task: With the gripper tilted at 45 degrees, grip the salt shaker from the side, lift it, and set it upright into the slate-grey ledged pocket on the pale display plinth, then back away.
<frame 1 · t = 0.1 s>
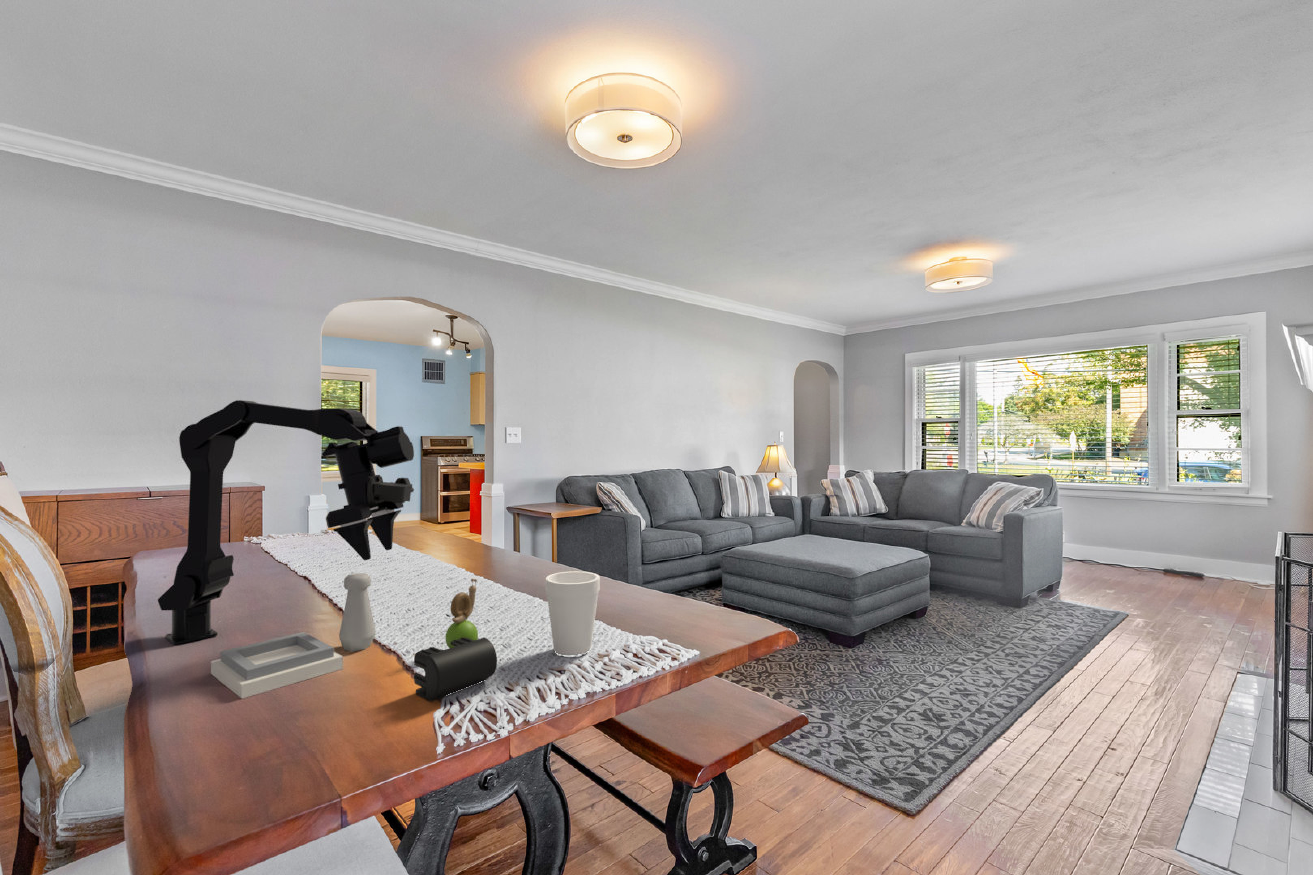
hand: (378, 554, 111), 15 cm above the table, tool pointing down, fingers open, 9 cm apart
foam cup: (572, 652, 104), on the table
salt shaker: (357, 648, 105), on the table
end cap: (455, 691, 88), on the table
snail figurine: (463, 651, 104), on the table
display plinth: (277, 671, 95), on the table
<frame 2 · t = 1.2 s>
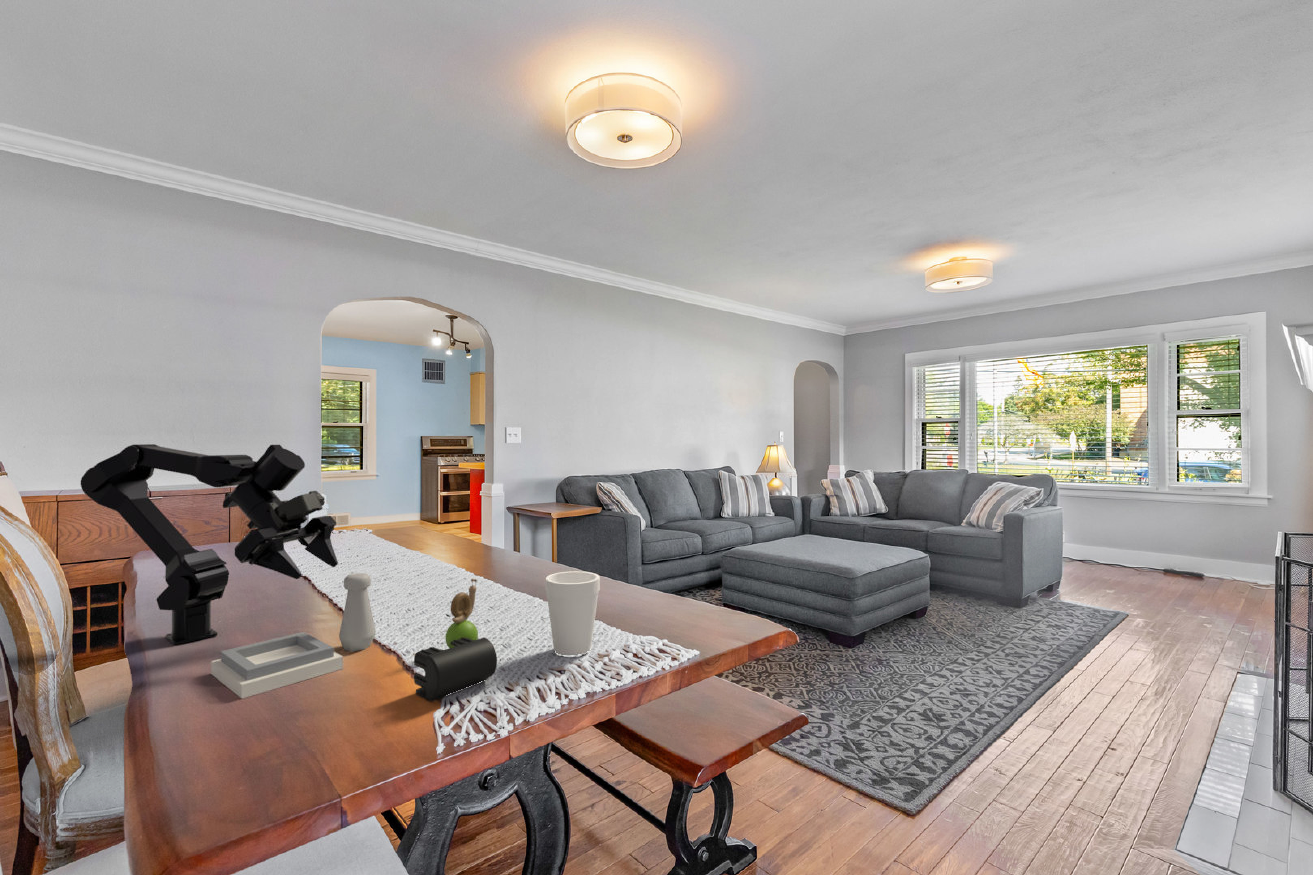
hand: (318, 571, 106), 13 cm above the table, tool tilted 45°, fingers open, 9 cm apart
nothing on the table moved.
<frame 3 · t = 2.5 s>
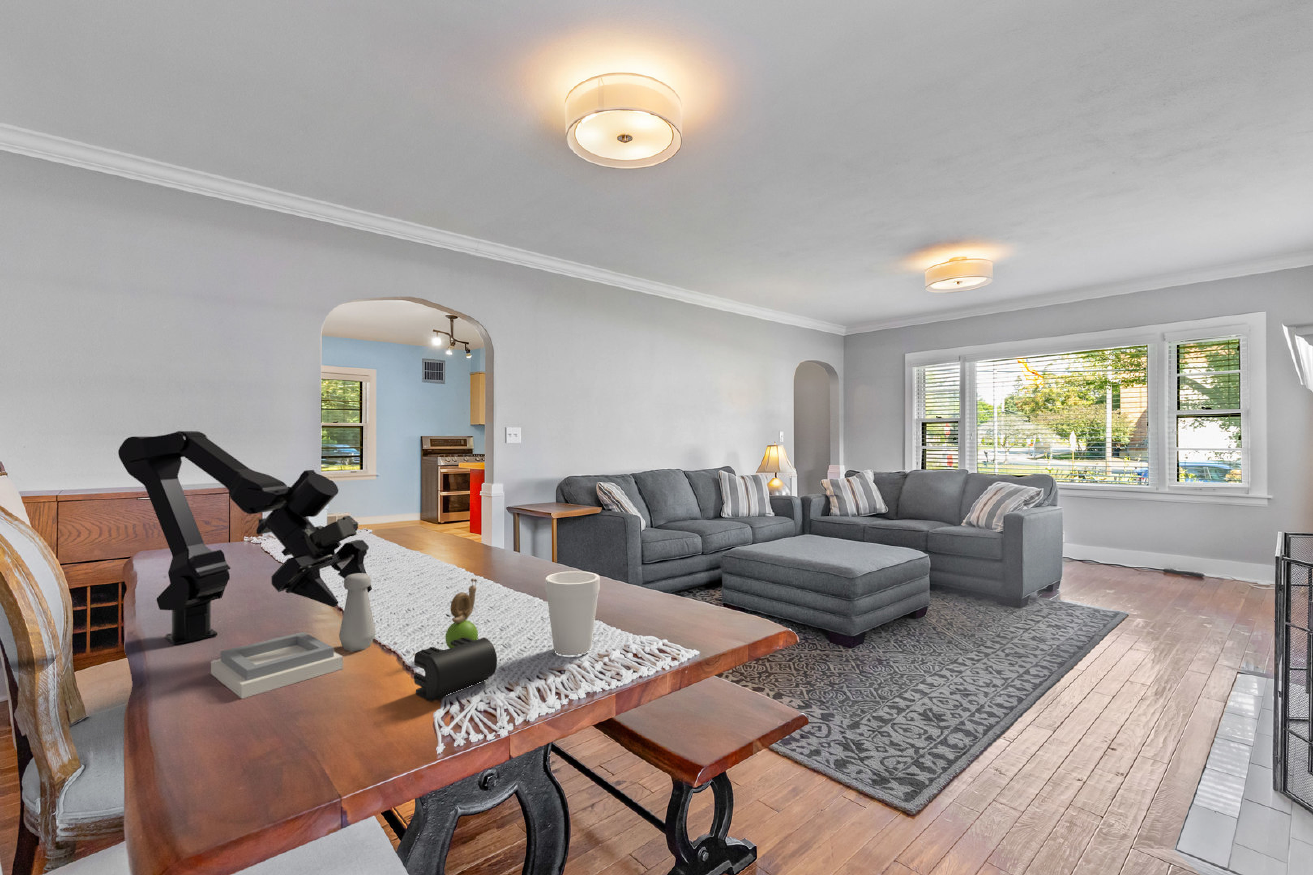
hand: (353, 597, 106), 9 cm above the table, tool tilted 45°, fingers open, 9 cm apart
nothing on the table moved.
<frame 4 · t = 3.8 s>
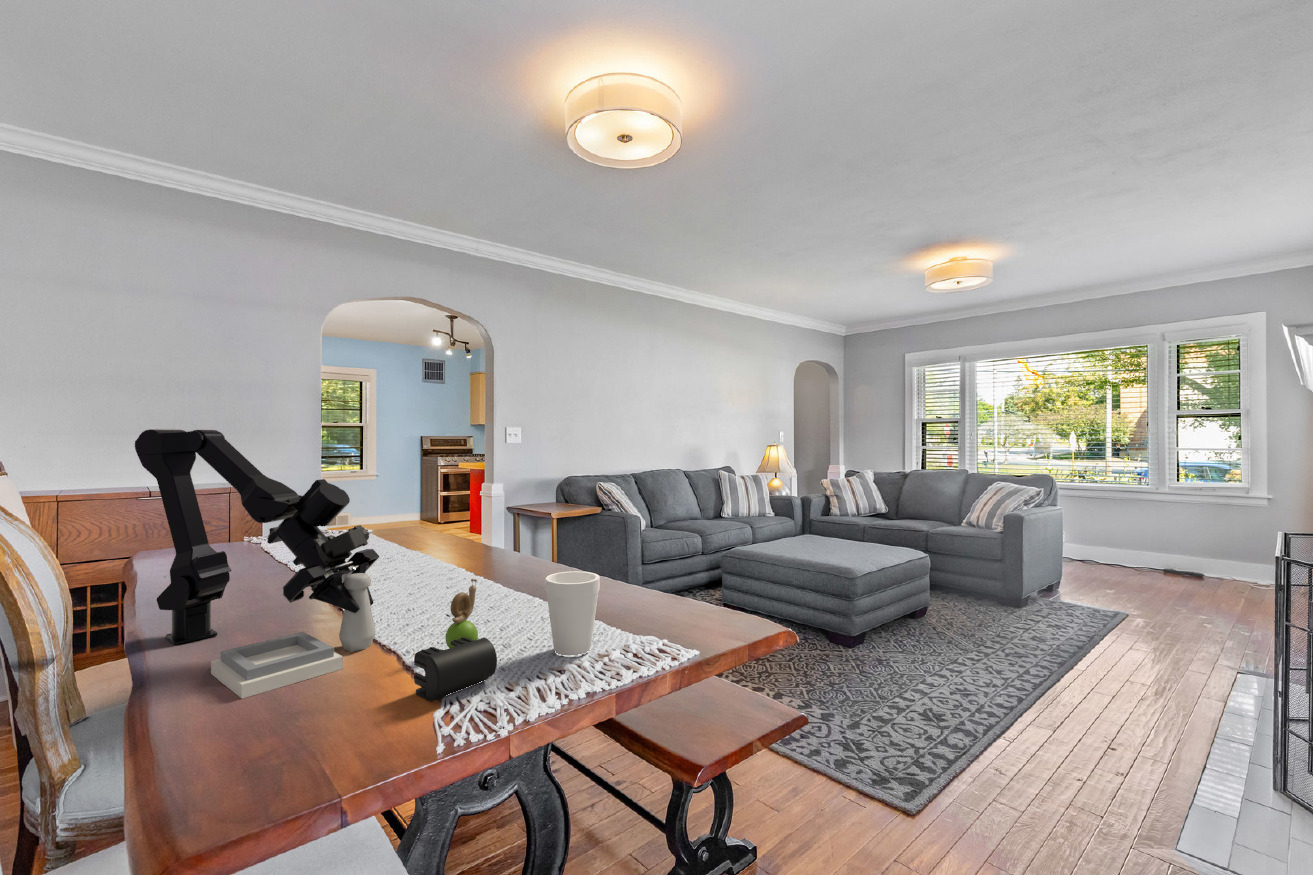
hand: (364, 607, 105), 7 cm above the table, tool tilted 45°, fingers closed on salt shaker, 3 cm apart
salt shaker: (357, 648, 105), on the table, touching gripper
everything else where it was.
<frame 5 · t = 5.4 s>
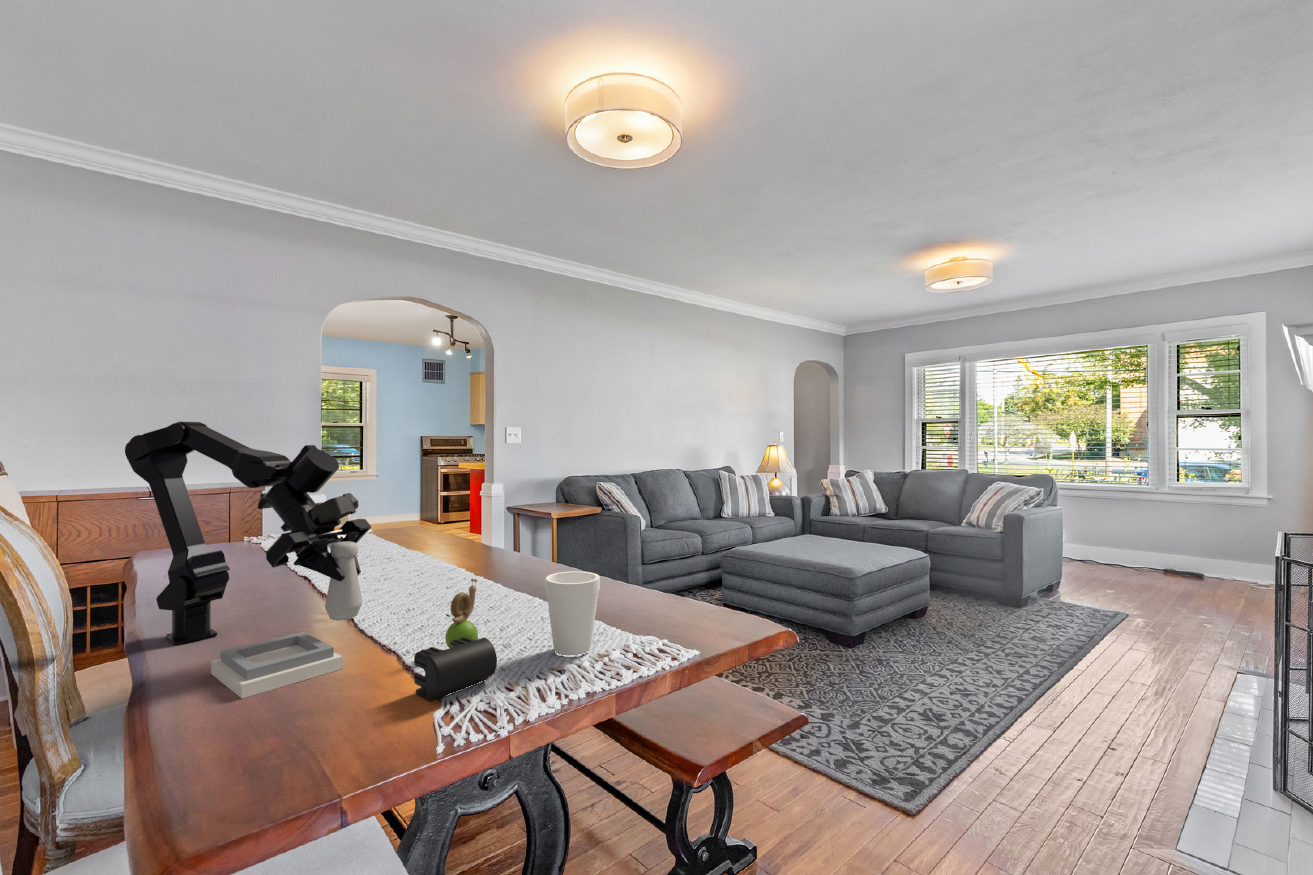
hand: (350, 576, 103), 13 cm above the table, tool tilted 45°, fingers closed on salt shaker, 3 cm apart
salt shaker: (343, 617, 103), point 6 cm above the table, touching gripper
everything else where it was.
when the fingers open (11 cm above the table, at t = 7.2 s): salt shaker drops 1 cm, resting on display plinth.
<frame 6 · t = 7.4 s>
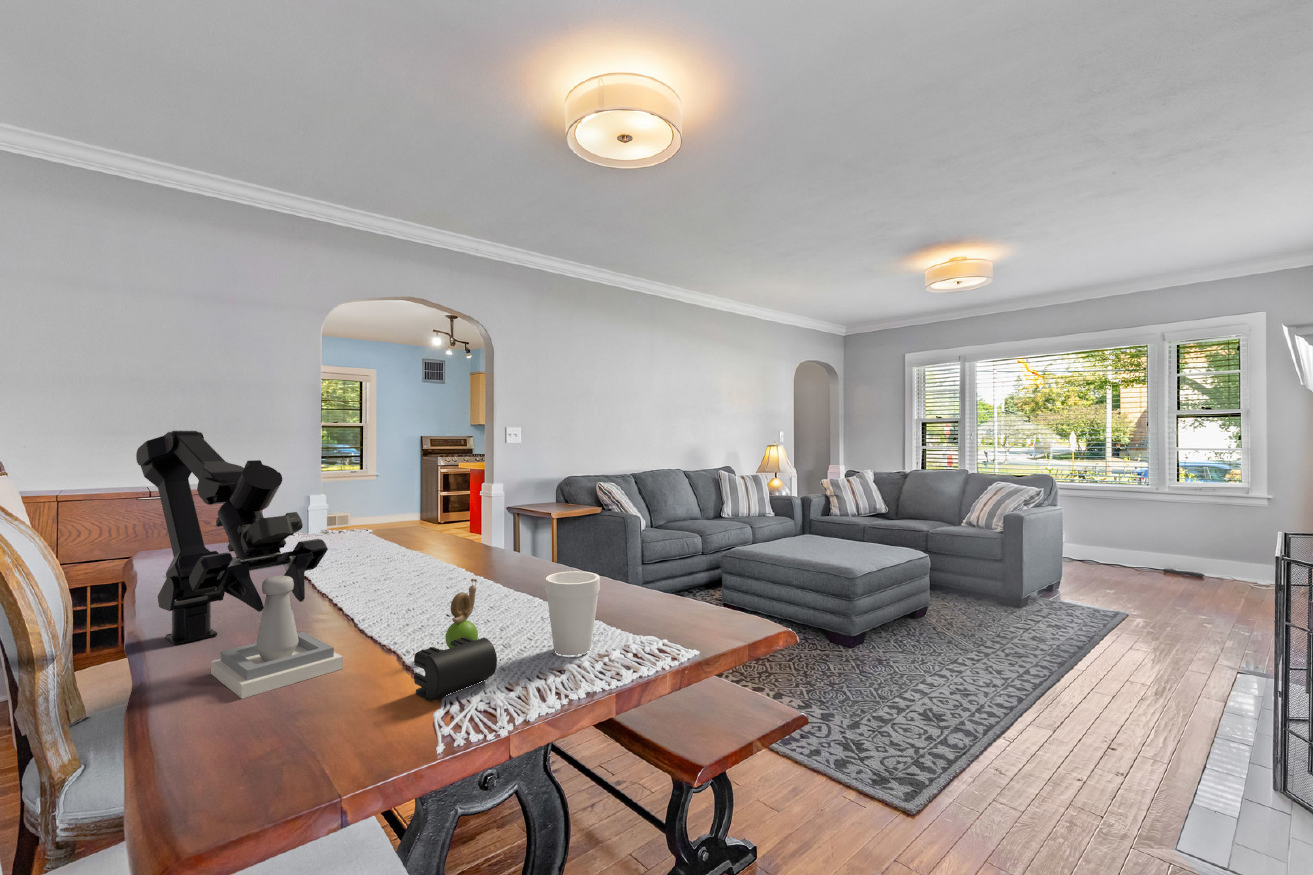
hand: (282, 604, 94), 11 cm above the table, tool tilted 45°, fingers open, 6 cm apart
salt shaker: (277, 659, 95), point 2 cm above the table, touching display plinth
everything else where it was.
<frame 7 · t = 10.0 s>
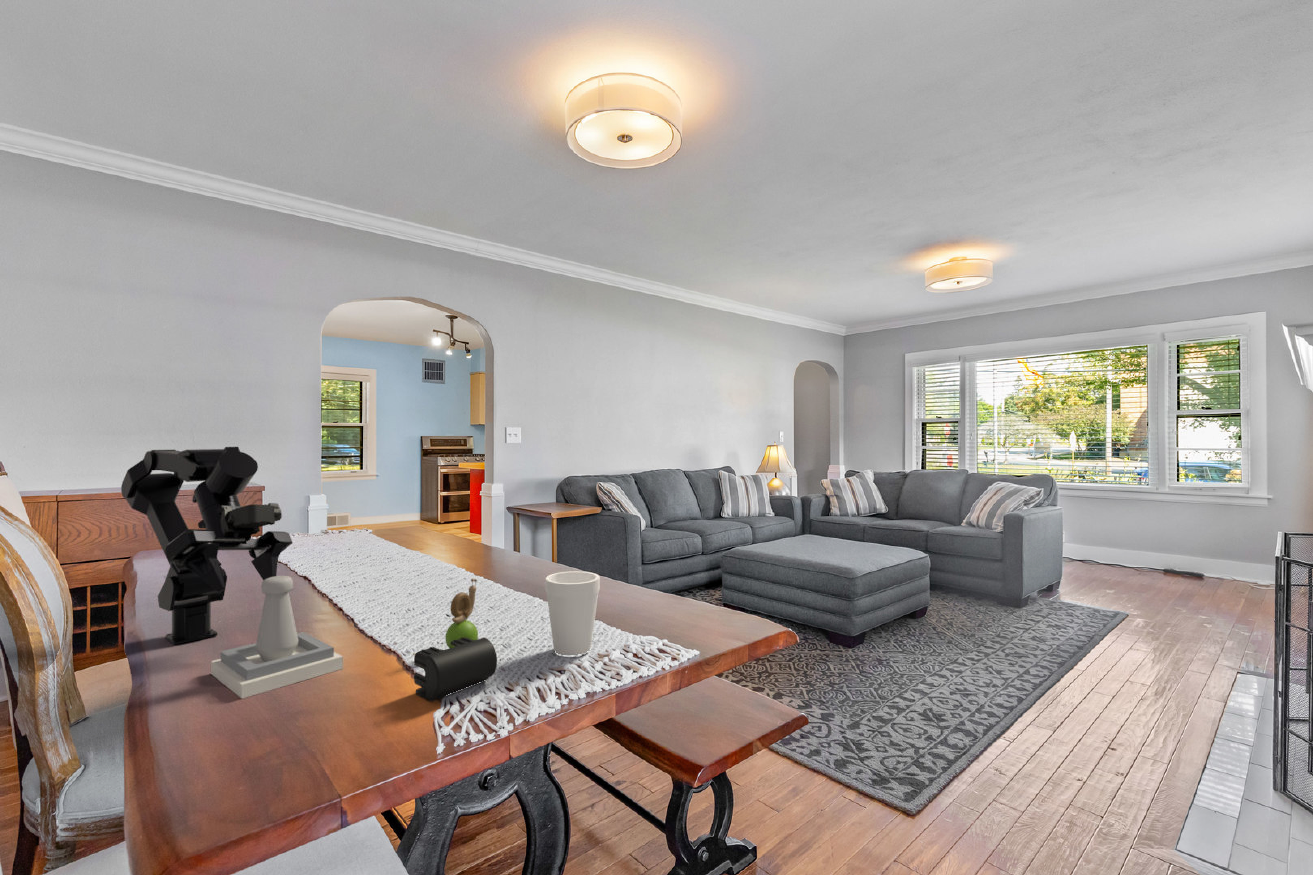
hand: (248, 588, 99), 12 cm above the table, tool tilted 35°, fingers open, 9 cm apart
nothing on the table moved.
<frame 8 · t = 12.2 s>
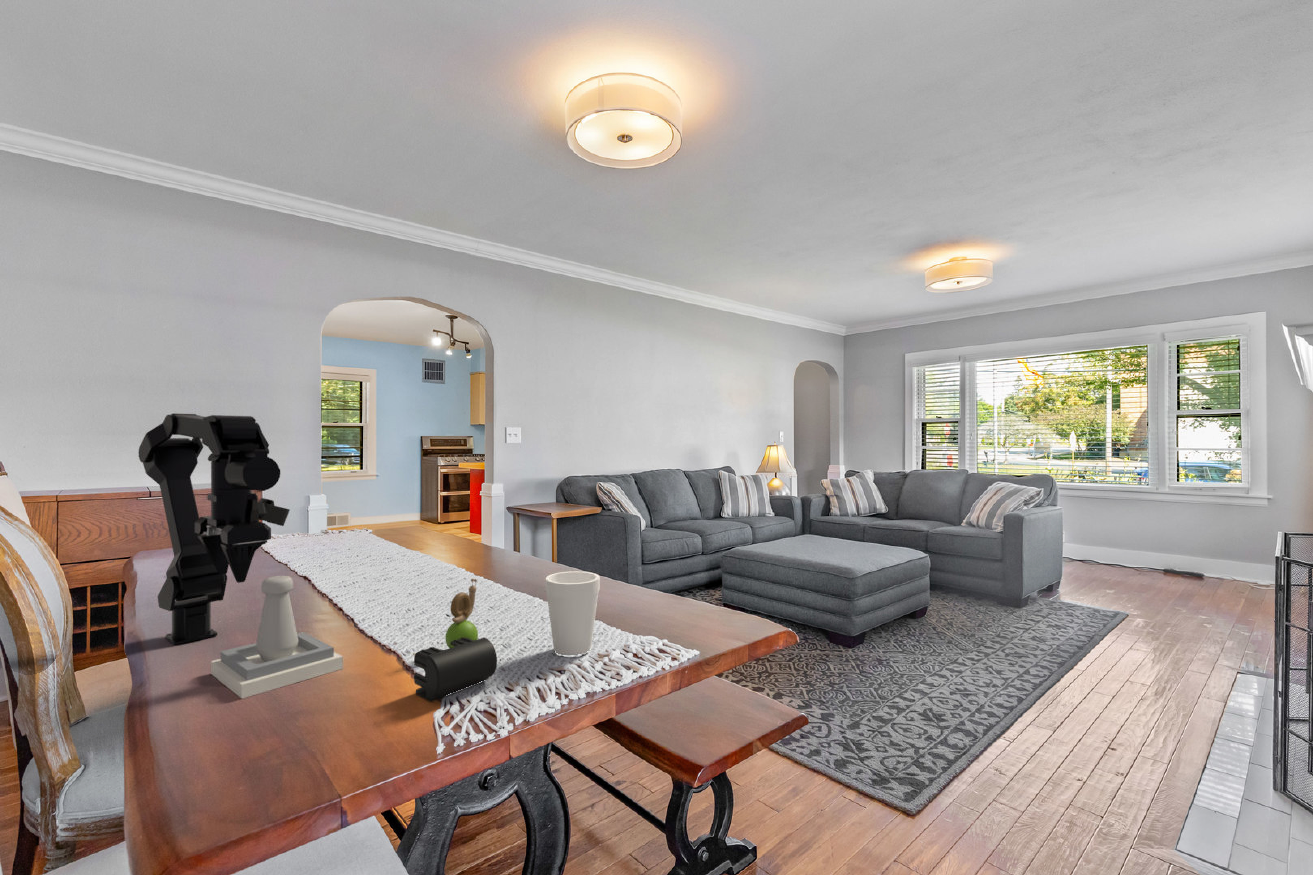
hand: (231, 577, 102), 13 cm above the table, tool pointing down, fingers open, 9 cm apart
nothing on the table moved.
at the end: salt shaker 0.2 cm off-centre on the display plinth, point 1.8 cm above the display plinth's base; salt shaker tilted 0°; the gripper is holding nothing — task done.
